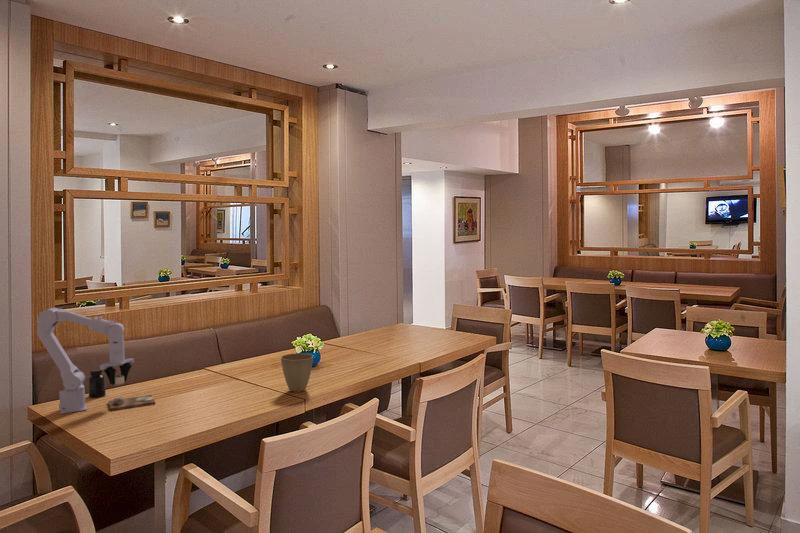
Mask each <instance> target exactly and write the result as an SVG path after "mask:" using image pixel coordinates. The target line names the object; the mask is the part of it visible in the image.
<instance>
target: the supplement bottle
mask: <svg viewBox="0 0 800 533" xmlns="http://www.w3.org/2000/svg"><path fill="white" fill-rule="evenodd" d="M89 373H90V374H89V377H88V379H87V383H88V384H87V386H88V397H89V398H90V399H96V398H97V399H99V398H102V397H103V398H104V397H105V396H106V394H107V392H106V391H107V390H106V377H105V375H103V370H101V369H100V368H99V369H98V368H97V369H91V370H90V371H89Z"/></svg>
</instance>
